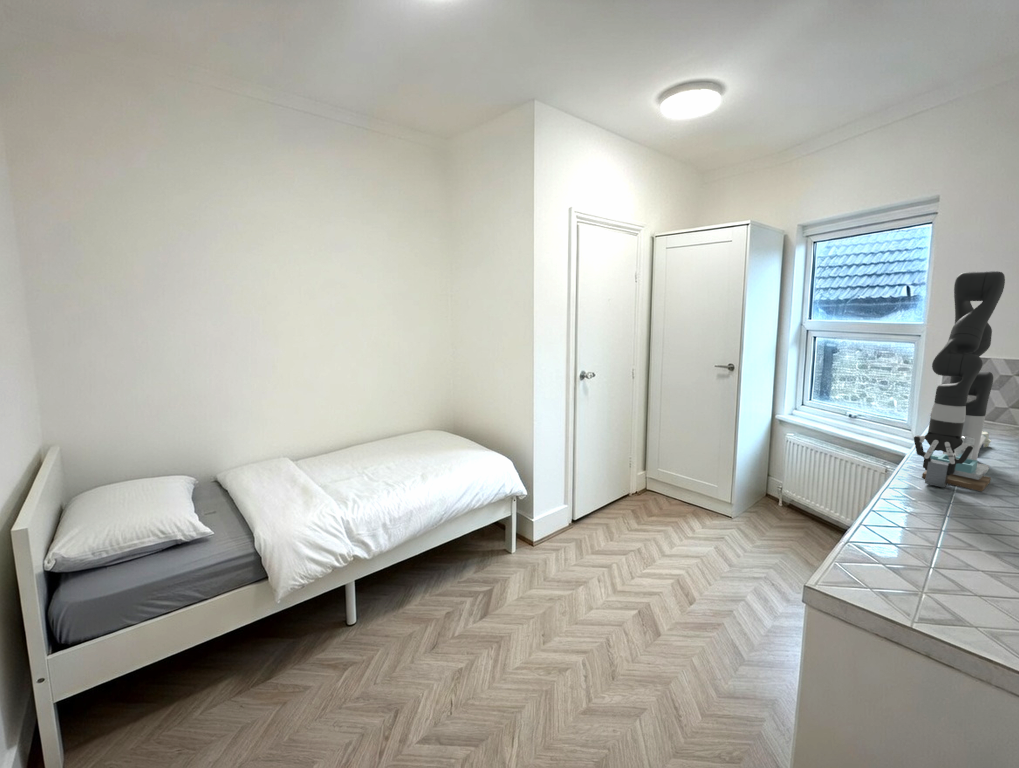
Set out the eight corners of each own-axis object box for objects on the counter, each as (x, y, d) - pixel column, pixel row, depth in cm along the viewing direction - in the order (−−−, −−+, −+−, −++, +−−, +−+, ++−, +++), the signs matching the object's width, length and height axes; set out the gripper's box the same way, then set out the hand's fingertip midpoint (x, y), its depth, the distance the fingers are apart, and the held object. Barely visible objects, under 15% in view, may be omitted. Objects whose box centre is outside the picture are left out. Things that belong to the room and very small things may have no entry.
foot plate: (932, 469, 159) (933, 465, 159) (990, 481, 148) (991, 477, 148) (921, 477, 151) (922, 473, 151) (981, 491, 140) (982, 486, 140)
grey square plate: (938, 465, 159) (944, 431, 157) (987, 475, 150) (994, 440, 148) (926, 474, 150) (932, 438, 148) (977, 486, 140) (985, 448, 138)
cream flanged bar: (960, 444, 178) (975, 426, 192) (958, 460, 180) (973, 441, 194) (979, 447, 174) (993, 429, 188) (977, 463, 176) (991, 444, 190)
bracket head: (932, 459, 155) (933, 452, 154) (976, 468, 146) (977, 460, 146) (925, 463, 150) (926, 456, 149) (970, 473, 141) (972, 465, 141)
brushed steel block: (928, 480, 146) (931, 459, 145) (947, 484, 143) (950, 463, 142) (924, 483, 144) (928, 461, 143) (943, 487, 140) (947, 465, 139)
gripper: (982, 421, 136) (972, 476, 139) (920, 412, 148) (911, 463, 151) (977, 425, 132) (966, 482, 135) (913, 415, 143) (904, 468, 146)
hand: (937, 472), depth 143 cm, fingers closed on brushed steel block, 4 cm apart
